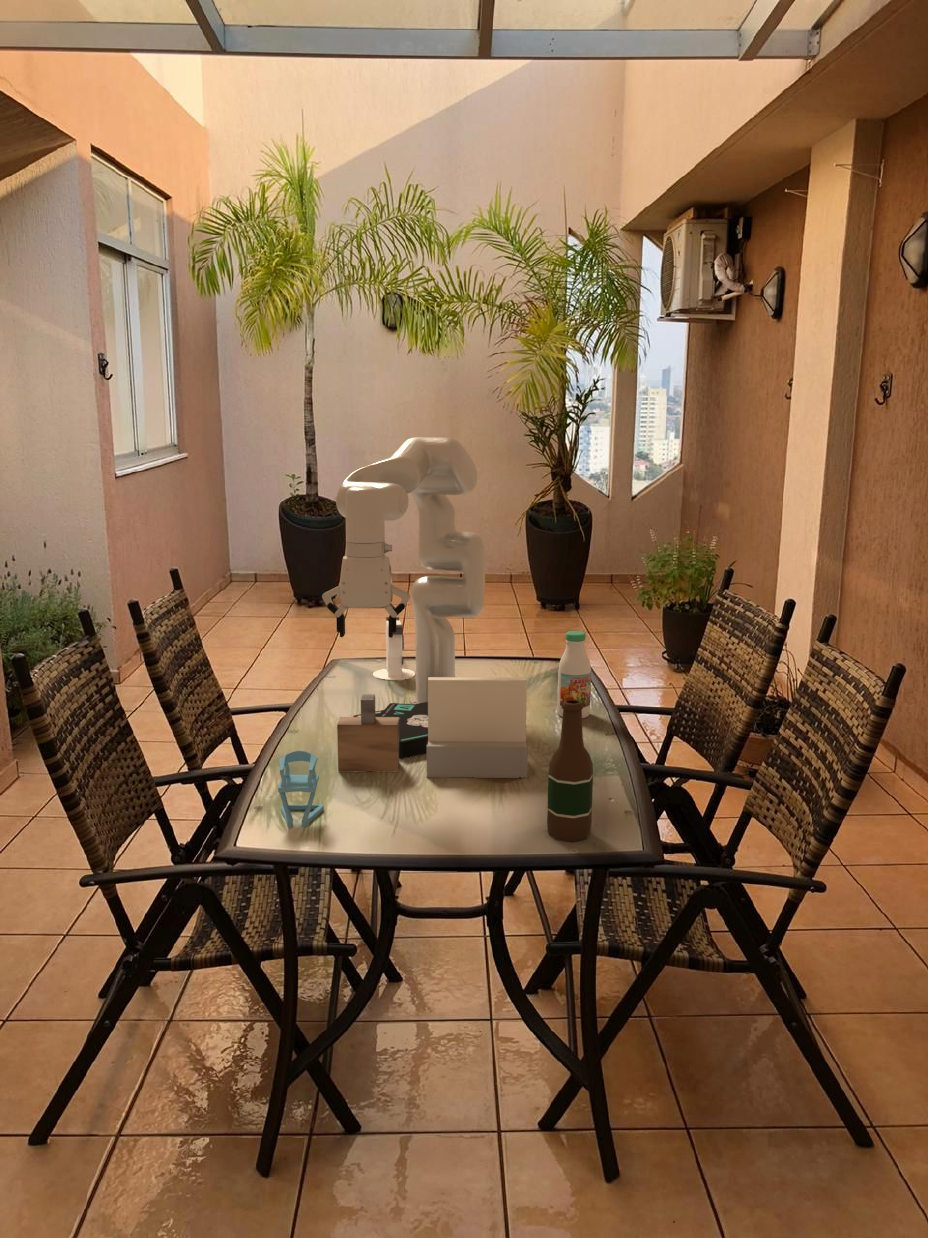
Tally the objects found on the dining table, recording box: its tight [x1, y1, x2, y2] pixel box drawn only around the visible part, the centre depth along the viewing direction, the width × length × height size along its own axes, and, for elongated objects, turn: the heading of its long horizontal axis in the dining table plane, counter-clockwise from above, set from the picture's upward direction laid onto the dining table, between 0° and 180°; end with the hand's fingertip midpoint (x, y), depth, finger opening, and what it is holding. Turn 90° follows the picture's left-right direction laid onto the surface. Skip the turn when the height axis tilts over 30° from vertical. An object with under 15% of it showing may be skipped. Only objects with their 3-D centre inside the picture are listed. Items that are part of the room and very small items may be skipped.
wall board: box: [426, 676, 529, 779], centre depth 214 cm, size 10×20×18 cm, turn 89°
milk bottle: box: [556, 630, 592, 719], centre depth 250 cm, size 8×8×20 cm
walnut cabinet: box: [336, 693, 400, 773], centre depth 215 cm, size 5×12×15 cm, turn 90°
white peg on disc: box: [372, 616, 416, 681], centre depth 284 cm, size 12×11×15 cm
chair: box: [277, 750, 324, 828], centre depth 190 cm, size 8×8×12 cm
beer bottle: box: [546, 699, 594, 843], centre depth 183 cm, size 8×8×24 cm
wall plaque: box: [352, 702, 428, 760], centre depth 236 cm, size 30×4×30 cm
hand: (366, 635), depth 211 cm, fingers open, 9 cm apart
